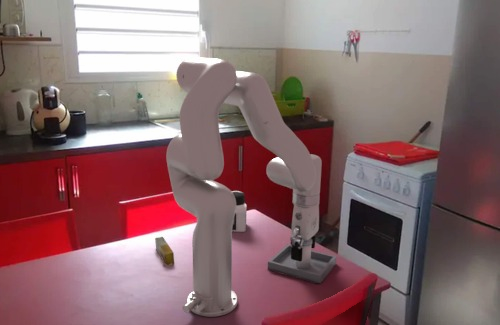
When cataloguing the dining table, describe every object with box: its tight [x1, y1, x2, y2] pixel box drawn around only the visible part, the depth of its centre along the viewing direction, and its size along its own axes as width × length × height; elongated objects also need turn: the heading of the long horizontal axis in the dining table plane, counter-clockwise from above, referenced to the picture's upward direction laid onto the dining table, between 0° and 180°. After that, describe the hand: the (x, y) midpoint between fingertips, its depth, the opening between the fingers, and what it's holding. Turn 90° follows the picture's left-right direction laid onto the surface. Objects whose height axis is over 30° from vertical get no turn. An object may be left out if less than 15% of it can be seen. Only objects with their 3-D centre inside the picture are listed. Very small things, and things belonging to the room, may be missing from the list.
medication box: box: [154, 236, 175, 266], centre depth 137 cm, size 12×3×4 cm, turn 26°
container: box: [230, 190, 248, 233], centre depth 158 cm, size 8×8×13 cm
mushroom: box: [295, 236, 312, 269], centre depth 131 cm, size 5×5×8 cm
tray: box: [267, 244, 338, 285], centre depth 132 cm, size 14×16×2 cm
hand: (303, 253), depth 131 cm, fingers open, 9 cm apart
